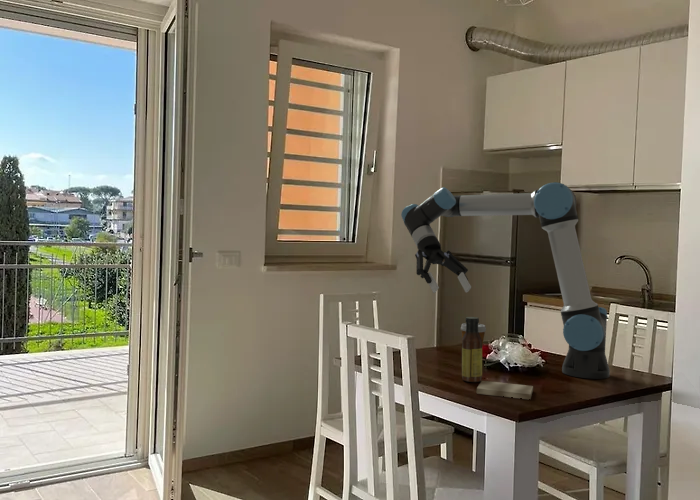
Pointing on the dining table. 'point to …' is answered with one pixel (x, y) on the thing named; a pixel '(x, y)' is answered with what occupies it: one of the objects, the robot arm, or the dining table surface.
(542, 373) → the dining table surface
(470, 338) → the sauce bottle
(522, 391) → the birch board
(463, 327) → the disposable coffee cup
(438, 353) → the dining table surface
